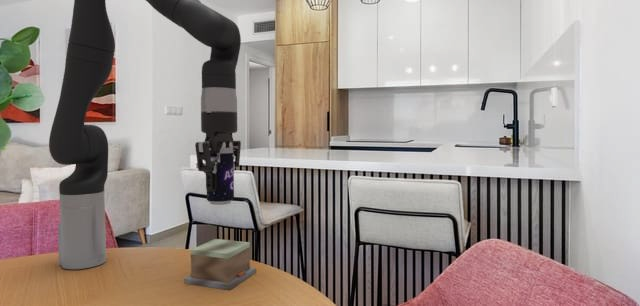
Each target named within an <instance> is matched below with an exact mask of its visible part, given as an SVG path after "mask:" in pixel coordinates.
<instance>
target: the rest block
mask: <svg viewBox="0 0 640 306" xmlns="http://www.w3.org/2000/svg"><path fill="white" fill-rule="evenodd" d="M250 247H251V242H248V241H241V240H239V241H237V240H231V239H220V238H214V239H211V240H209V241H207V242H205V243H203V244H200V245H198V246H196V247H194V248H192V249H190V274H189V275H188V276H186V277H184V278H183V284H185V285H186V284H188V285H191V286H200V287H205V288H214V289H220V290H227V291H231V290H232V289H234V288H235V287H237V286H239V285H240V284H241V283H242V282H244V281H246V280H247V279H249V278H250V277H252V276H253V275H254V274H255V273H257V268H256V267H253V266H252V267H251V248H250Z"/></svg>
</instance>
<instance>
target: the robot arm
mask: <svg viewBox="0 0 640 306" xmlns="http://www.w3.org/2000/svg"><path fill="white" fill-rule="evenodd" d="M145 1H146V2H147V3H148V4H149V5H150V6H151V7H152V8H153V9H154V10H155V11H156V12H158V13H159V14H160V15H162V17H165V18H166V19H167V20H169V21H170V22H172V23H173V24H175V25H176V26H178V27H181V28H182V29H184V31H185V32H187V33H188V34H189V35H190V36H191V37H192V38H194V39H195V40H197V41H198V42H199V43H201V44H203V45H204V46H206V47H209V48H210V57H209V60H205V62H203V64H202V65H201V66H202V67H201V96H200V127H201V128H200V131H201V132H202V133H203V134H205V139H204V141H200V142H199V141H196V142H195V144H194V145H195V152H196V154H195V155H196V160H197V161H196V162H197V168H198V171H199V172H202V173H204V174H205V188H206V189H205V190H206V192H207V191H208V192H215V191H217V174H216V172H217V168H218V163H220V162H221V158H220V156H221V151H222V150H223V149H224V148H231V147H232V151H233V153H234V171H235V169H236V168H238V167H239V166H240V158H241V157H240V156H241V148H242V147H241V145H242V142H241V140H234V138H233V137H234V136H233V134H235V133H237V132H238V98H237V81H236V80H237V78H236V76H237V75H236V69H237V65H238V60H239V56H240V51H241V50H240V49H241V43H242V42H241V41H242V39H241V33H240V32H241V31H240V28H239V27H238V25H237V24H236V23H235V22H234V21H233V20H232V19H230V18H228V17H226V16H224V15H223V14H221V13H220V12H217V11H216V10H214V9H213V8H212V7H209V6H207V5H206V4H204V3H202V2H201V1H200V0H145ZM69 31H70V33H69V37H68V42H67V48H66V54H65V55H66V57H65V64H64V65H65V66H64V71H63V77H62V78H63V79H62V83H61V90H60V93H59V94H60V95H59V100H58V103H57V107H56V112H55V114H54V118H53V122H52V125H51V130H50V134H49V139H48V147H49V150H48V151H49V153H50V156H51V158H52V159H53V160H54V162H56V163H57V164H59V165H63V166H64V165H65V166H66V165H67V166H68V165H69V166H70V165H75V167H74V170H73V171H72V173H70V175H68V176H67V177H66V178H64V179H62V180H60V182H59V186H58V187H59V188H58V190H59V191H58V193H59V194H58V196H59V215H60V216H59V218H60V219H59V223H60V224H58V225H57V243H58V244H57V247H58V249H57V250H58V265H59V266H61V268H63V269H65V270H83V269H84V270H85V269H89V268H94V267H97V266H100V265H103V264H105V263H106V261H107V246H106V245H107V240H106V238H107V237H106V236H107V235H106V207H105V206H106V203H105V202H106V201H105V199H106V198H105V185H106V181H107V179H108V173H109V171H108V169H109V142H108V137H107V134H106V132H105V131H104V129H102V128H101V127H99V126H98V125H96V124H95V125H94V124H85V121H86V116H87V112H88V110H89V109H88V108H89V106H90V105H91V103H92V101H93V99H94V98H95V97H96V95H97V94H98V93H99V91H101V89H102V88H103V86H104V85H105V83H106V82H107V81H108V79H109V78H110V75H111V73H112V70H113V69H112V68H113V63H114V57H115V50H116V40H115V36H114V32H113V28H112V24H111V21H110V19H109V16H108V12H107V3H106V0H74V1H73V10H72V17H71V25H70V30H69ZM218 148H219V149H218ZM217 152H218V153H217ZM216 153H217V157H216V158H211V157H210V154H216ZM204 162H205V163H204ZM211 162H213V167H212V165H211Z"/></svg>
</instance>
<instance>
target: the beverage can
mask: <svg viewBox="0 0 640 306" xmlns="http://www.w3.org/2000/svg"><path fill="white" fill-rule="evenodd" d="M218 149H219V148H218ZM217 153H218V152H217ZM217 153H216V154H210V157H211V158H216V157H217ZM234 157H235V156H234V153H233V151H232V147H231V148H224V149H223V150H222V151H221V156H220V158H221V162H220V163H218V168H217V172H216V174H217V191H215V192H208V191H207V190H206V201H208V202H209V203H210V205H215V206H220V205H222V206H223V205H229V204H231V203H232V201H233V200H234V199H235V177H234V176H235V170H234V161H235V159H234ZM211 165H212V167H213V162H211Z"/></svg>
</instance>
